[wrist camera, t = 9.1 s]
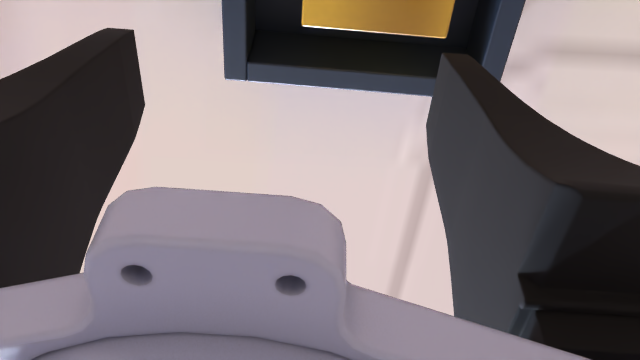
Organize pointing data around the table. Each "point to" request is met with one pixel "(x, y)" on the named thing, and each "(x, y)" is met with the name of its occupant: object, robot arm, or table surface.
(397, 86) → the case
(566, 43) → the table surface
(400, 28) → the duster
